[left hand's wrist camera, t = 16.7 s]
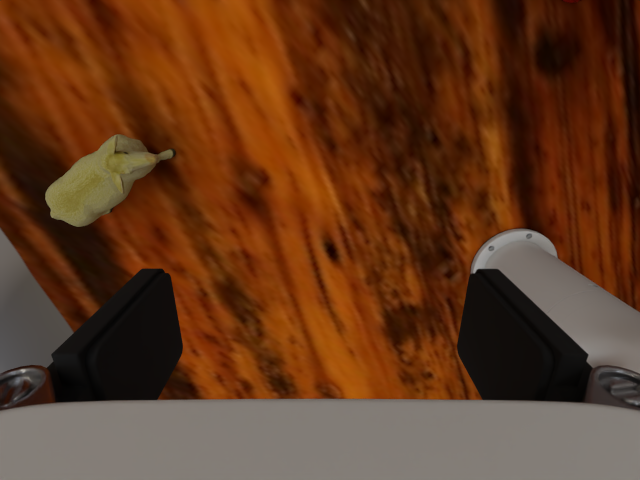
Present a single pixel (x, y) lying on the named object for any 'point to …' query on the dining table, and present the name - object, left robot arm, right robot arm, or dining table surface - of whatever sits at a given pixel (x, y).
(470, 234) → the dining table surface
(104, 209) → the toy
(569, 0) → the tin
